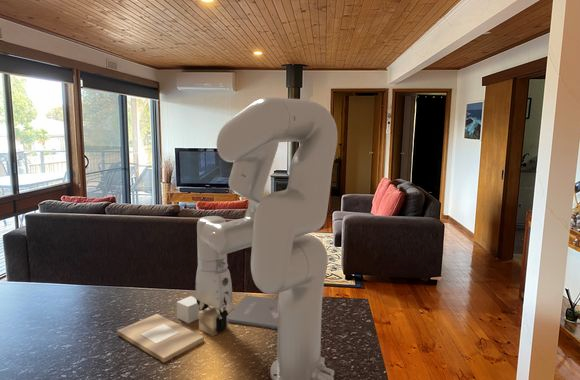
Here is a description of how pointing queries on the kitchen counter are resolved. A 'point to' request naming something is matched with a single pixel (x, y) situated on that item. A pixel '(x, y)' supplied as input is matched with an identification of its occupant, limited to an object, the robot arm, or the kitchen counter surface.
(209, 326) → the maple block
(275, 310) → the play button award
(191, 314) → the white cube
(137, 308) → the kitchen counter surface
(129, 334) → the base board
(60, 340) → the kitchen counter surface
